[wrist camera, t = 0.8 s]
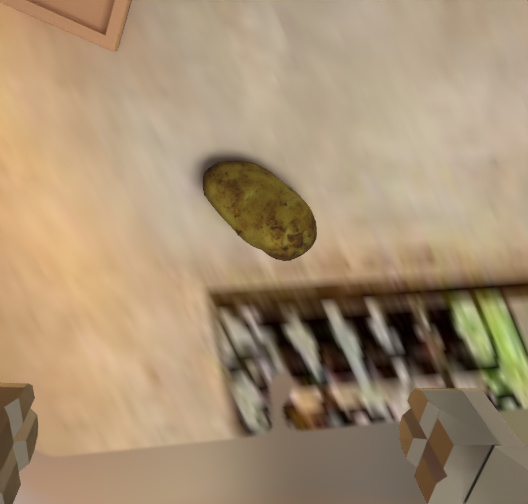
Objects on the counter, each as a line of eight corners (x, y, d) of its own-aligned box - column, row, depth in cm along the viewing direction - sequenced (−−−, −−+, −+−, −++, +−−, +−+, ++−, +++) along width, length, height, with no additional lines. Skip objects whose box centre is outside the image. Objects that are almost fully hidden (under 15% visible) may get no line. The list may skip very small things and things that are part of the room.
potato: (254, 127, 48) (262, 145, 41) (317, 215, 53) (334, 245, 46) (193, 173, 49) (191, 198, 42) (261, 254, 55) (269, 288, 48)
